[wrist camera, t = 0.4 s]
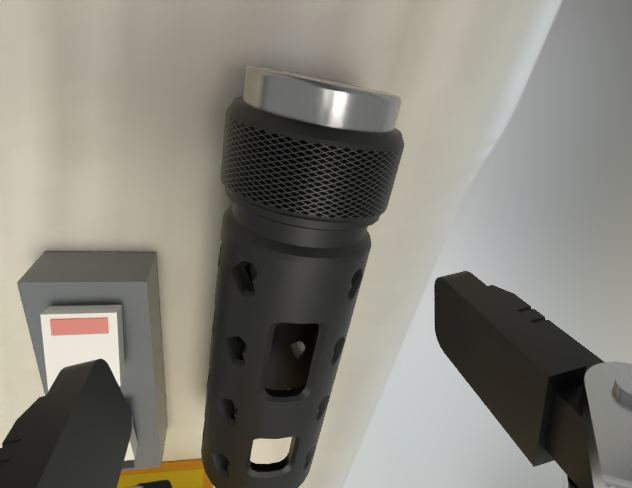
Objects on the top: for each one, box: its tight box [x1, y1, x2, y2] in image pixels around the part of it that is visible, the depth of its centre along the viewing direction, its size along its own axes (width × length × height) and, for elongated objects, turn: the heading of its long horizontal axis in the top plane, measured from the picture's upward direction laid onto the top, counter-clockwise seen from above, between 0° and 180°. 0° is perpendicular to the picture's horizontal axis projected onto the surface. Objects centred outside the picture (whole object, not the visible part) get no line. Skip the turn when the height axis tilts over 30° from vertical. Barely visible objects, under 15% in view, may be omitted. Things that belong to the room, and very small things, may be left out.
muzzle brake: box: [201, 66, 404, 488], centre depth 26 cm, size 10×28×10 cm, turn 169°
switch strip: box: [17, 251, 167, 471], centre depth 28 cm, size 18×7×4 cm, turn 173°
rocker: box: [40, 305, 125, 391], centre depth 23 cm, size 5×4×1 cm
